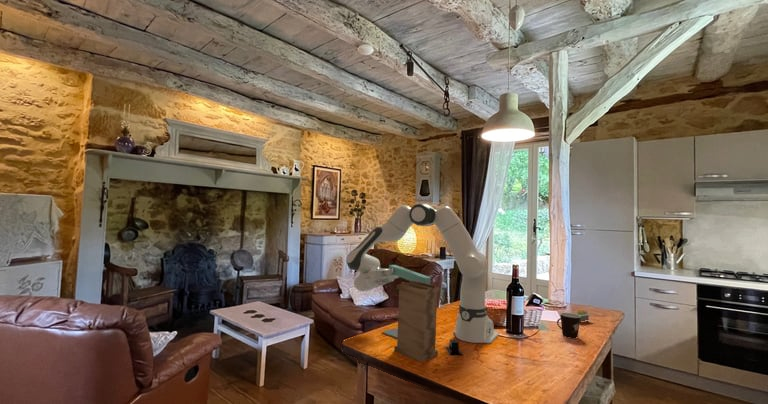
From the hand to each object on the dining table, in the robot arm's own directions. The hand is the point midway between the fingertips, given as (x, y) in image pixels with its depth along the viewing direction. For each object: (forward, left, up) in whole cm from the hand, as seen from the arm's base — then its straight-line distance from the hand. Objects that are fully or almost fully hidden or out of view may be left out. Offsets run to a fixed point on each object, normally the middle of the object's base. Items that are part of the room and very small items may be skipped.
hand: (397, 269), depth 161 cm
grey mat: (0, +7, -29) cm, 30 cm away
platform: (-95, +54, -30) cm, 113 cm away
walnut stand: (+11, +21, -29) cm, 37 cm away
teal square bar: (0, +7, -3) cm, 8 cm away
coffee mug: (-62, +55, -30) cm, 88 cm away
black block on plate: (-4, +29, -30) cm, 42 cm away
